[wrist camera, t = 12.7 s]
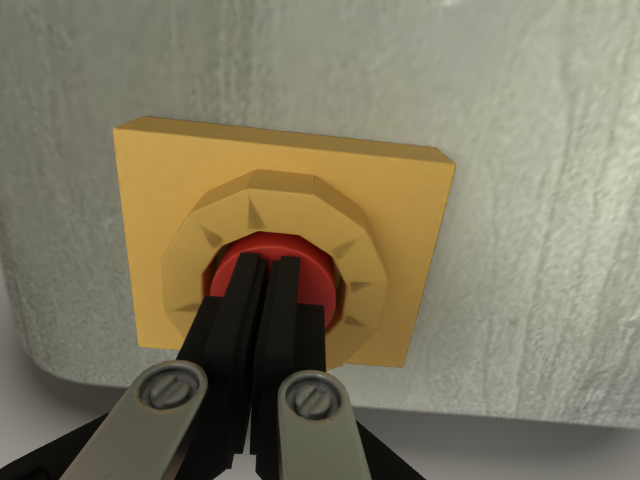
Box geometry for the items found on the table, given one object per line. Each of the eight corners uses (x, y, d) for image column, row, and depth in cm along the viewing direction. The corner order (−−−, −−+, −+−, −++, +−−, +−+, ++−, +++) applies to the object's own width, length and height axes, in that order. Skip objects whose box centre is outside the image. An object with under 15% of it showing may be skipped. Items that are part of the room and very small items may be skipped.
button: (340, 226, 12) (344, 252, 11) (327, 320, 14) (328, 355, 12) (223, 214, 12) (208, 240, 10) (223, 311, 14) (210, 345, 12)
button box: (437, 147, 14) (480, 183, 10) (394, 331, 17) (414, 407, 13) (142, 115, 13) (75, 141, 10) (159, 312, 17) (115, 385, 13)
